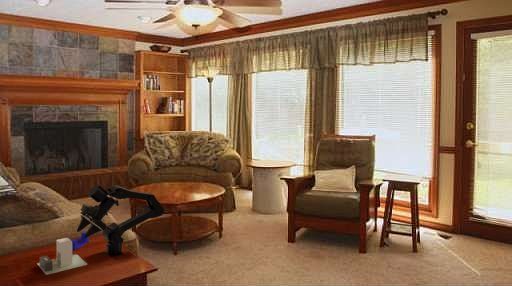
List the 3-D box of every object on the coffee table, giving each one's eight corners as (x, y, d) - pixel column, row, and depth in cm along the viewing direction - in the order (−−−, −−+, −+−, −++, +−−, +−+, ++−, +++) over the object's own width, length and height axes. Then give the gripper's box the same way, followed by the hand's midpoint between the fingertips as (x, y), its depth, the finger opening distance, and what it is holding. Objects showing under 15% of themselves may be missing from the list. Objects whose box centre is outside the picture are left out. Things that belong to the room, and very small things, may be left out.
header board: (76, 256, 209) (76, 246, 208) (87, 266, 199) (87, 256, 198) (36, 265, 197) (36, 254, 196) (46, 276, 187) (46, 265, 186)
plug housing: (67, 259, 202) (67, 237, 201) (72, 264, 198) (72, 241, 196) (56, 262, 199) (56, 239, 197) (61, 267, 195) (60, 244, 193)
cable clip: (80, 242, 226) (80, 231, 225) (88, 243, 225) (88, 233, 224) (66, 251, 214) (66, 240, 213) (74, 252, 213) (74, 241, 213)
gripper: (84, 193, 209) (61, 219, 204) (99, 203, 196) (75, 231, 190) (100, 206, 216) (78, 232, 210) (116, 216, 202) (93, 244, 197)
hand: (80, 234), depth 202 cm, fingers open, 9 cm apart
